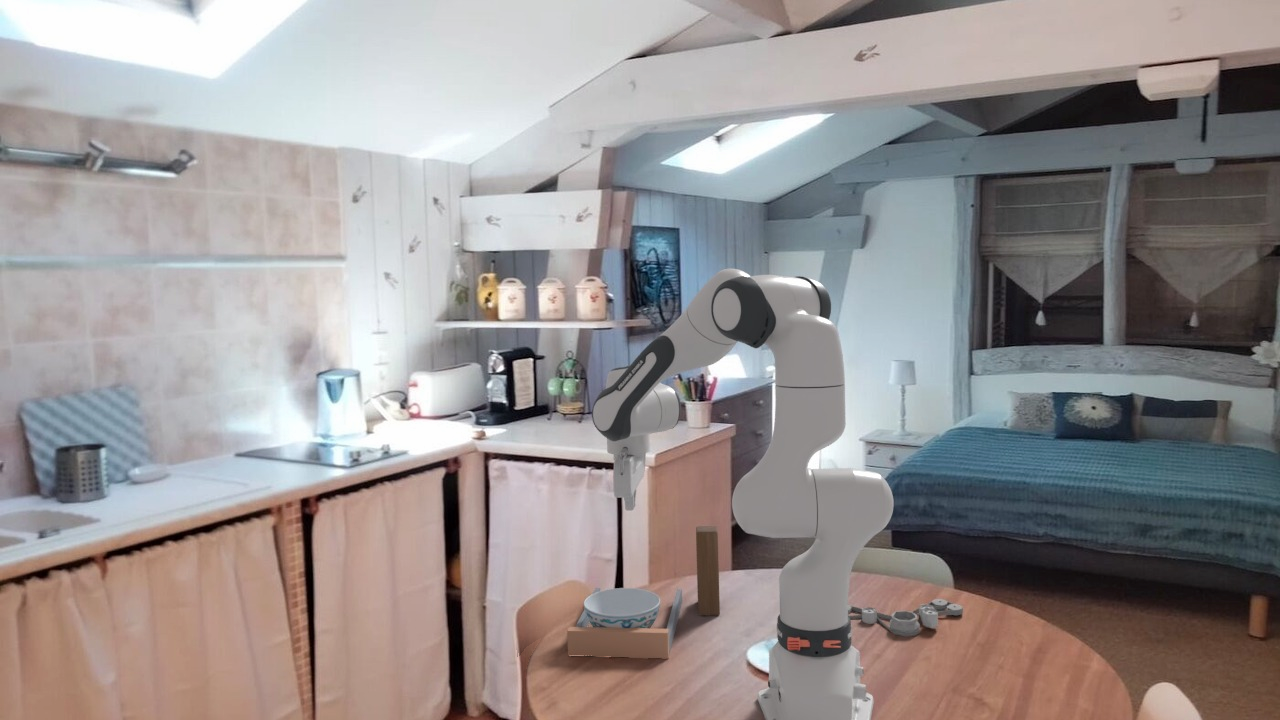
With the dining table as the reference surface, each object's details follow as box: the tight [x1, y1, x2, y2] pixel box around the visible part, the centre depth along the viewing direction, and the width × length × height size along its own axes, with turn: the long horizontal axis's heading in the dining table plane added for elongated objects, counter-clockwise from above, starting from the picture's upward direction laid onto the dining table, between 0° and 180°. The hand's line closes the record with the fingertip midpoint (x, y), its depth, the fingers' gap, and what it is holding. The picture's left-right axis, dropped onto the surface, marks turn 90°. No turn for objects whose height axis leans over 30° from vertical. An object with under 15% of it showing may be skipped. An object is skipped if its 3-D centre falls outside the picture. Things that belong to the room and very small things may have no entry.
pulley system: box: [848, 598, 964, 637], centre depth 183 cm, size 27×5×15 cm
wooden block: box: [695, 525, 721, 616], centre depth 193 cm, size 9×4×18 cm, turn 176°
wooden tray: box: [566, 587, 683, 660], centre depth 184 cm, size 29×19×5 cm, turn 172°
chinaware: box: [583, 587, 661, 628], centre depth 179 cm, size 15×15×8 cm
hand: (630, 508), depth 190 cm, fingers closed
